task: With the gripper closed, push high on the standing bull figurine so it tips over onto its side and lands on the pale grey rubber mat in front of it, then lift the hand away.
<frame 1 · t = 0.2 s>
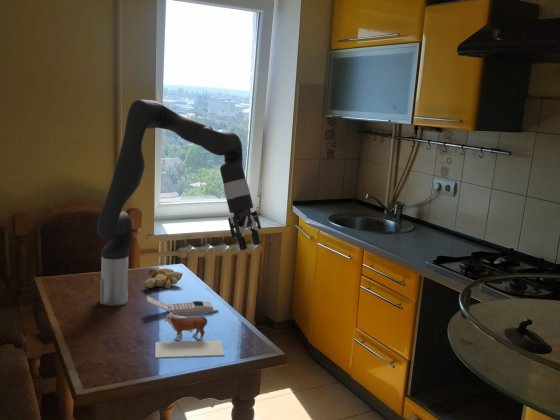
hand: (250, 246, 165), 31 cm above the table, tool tilted 20°, fingers open, 8 cm apart
mobile phone: (182, 313, 190), on the table
ginger root: (162, 285, 218), on the table
bull figurine: (184, 338, 169), on the table
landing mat: (189, 349, 162), on the table
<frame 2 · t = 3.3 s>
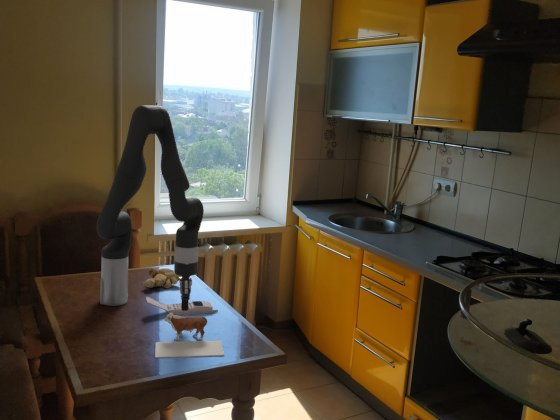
hand: (184, 309, 177), 6 cm above the table, tool pointing down, fingers closed
nothing on the table moved.
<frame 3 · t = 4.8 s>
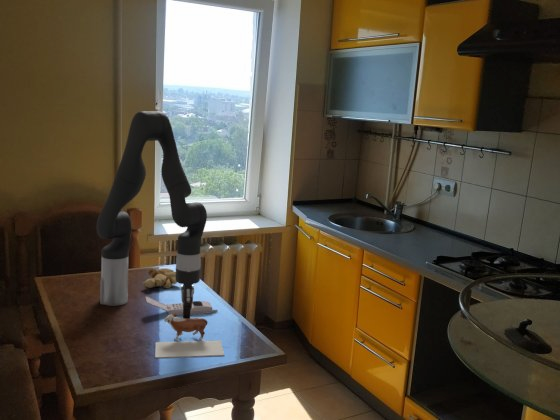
hand: (186, 319, 170), 6 cm above the table, tool pointing down, fingers closed
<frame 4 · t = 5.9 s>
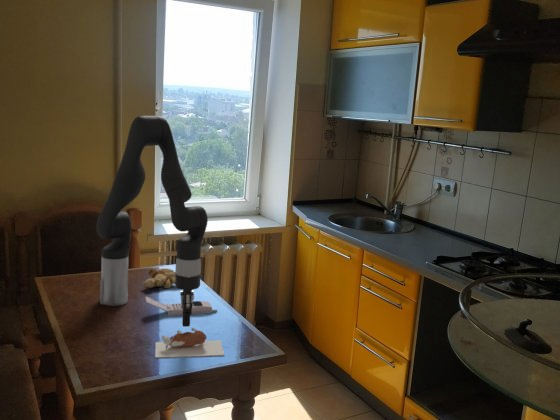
hand: (186, 325, 165), 6 cm above the table, tool pointing down, fingers closed
bull figurine: (184, 333, 168), point 2 cm above the table, touching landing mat
everything else where it was.
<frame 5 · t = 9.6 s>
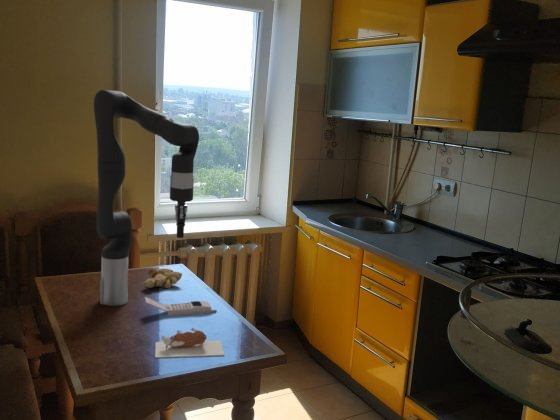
hand: (180, 237, 178), 29 cm above the table, tool pointing down, fingers closed
nothing on the table moved.
at the end: bull figurine tilted 86°; bull figurine inside the target area (1.8 cm from its centre), point 2.1 cm above the table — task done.
